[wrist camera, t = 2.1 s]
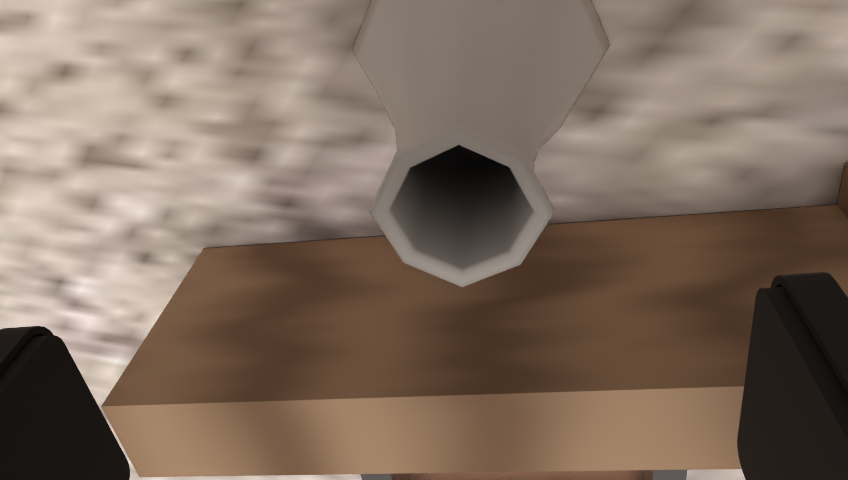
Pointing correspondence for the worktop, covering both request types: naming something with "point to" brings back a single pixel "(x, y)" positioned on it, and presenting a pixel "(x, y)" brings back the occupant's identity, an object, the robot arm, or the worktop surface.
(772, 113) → the worktop surface
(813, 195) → the worktop surface
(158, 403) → the thick wooden plank
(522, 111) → the flask
